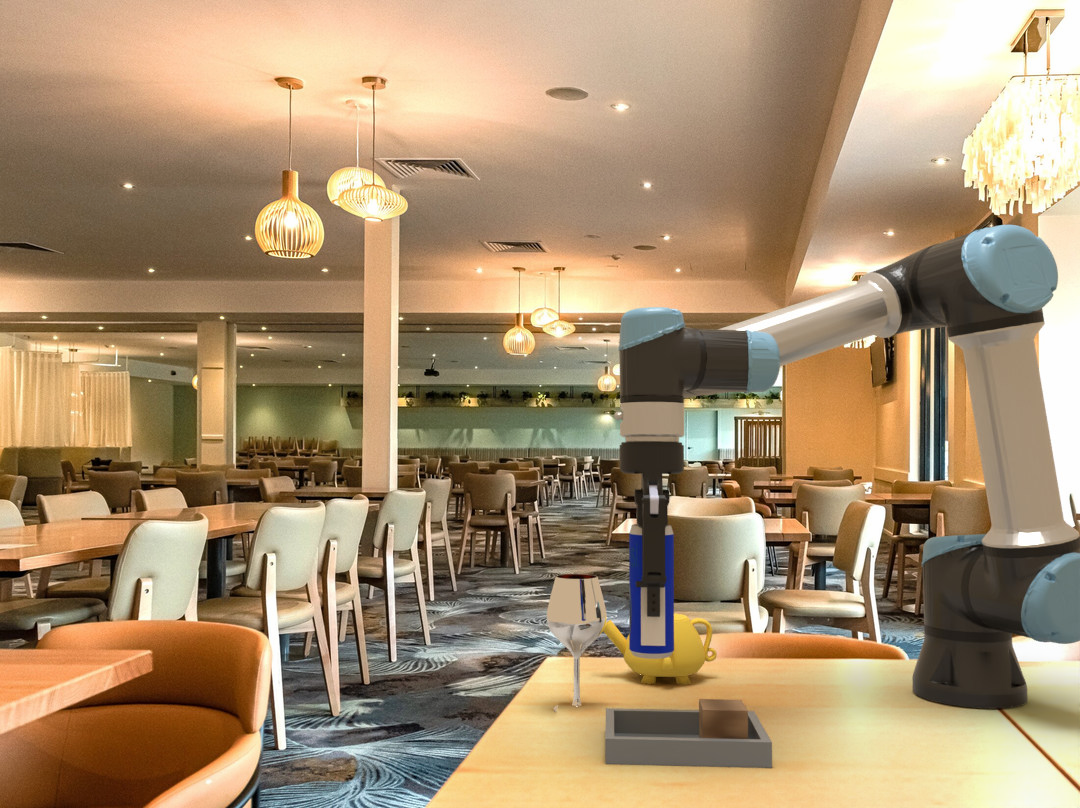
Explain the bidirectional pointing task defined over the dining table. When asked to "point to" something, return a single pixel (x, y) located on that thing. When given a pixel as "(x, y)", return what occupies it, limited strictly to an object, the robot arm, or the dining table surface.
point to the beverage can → (635, 596)
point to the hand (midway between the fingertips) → (651, 639)
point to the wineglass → (576, 617)
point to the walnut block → (723, 719)
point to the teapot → (681, 661)
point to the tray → (679, 741)
